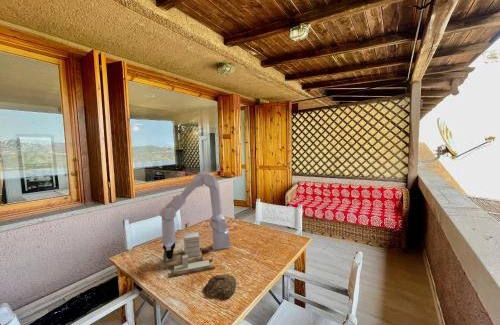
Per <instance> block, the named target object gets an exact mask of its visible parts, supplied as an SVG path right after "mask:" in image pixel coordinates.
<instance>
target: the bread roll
mask: <svg viewBox="0 0 500 325" xmlns="http://www.w3.org/2000/svg"><path fill="white" fill-rule="evenodd" d="M236 288H237V280H236V278H235V276H232V275H230V274H218V275H217V274H216V275H214V276H212V277H211V278H209V280H208V281H207V283H206V284H205V286H204V287H203V293H204V294H206V296H207V297H208V298H210V299H218V300H222V301H224V300H228V299H230V298H231V297H232V295H234V293H235V292H236Z"/></svg>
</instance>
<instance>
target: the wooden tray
mask: <svg viewBox="0 0 500 325" xmlns="http://www.w3.org/2000/svg"><path fill="white" fill-rule="evenodd" d="M201 250H202V249H201V247H200V256H199V257H194V258H188V263H190V262H196V261H202V260H203V252H201ZM162 255H163V256H162V257H163V258H162V259H163V263H162V265H163V266H162V267H163V268H162V269H170V266H174V265H179V264H182V256H183V255H185V250H181V251H175V252H174V251H173V257H172V259H167V255H166V252H165V250H164V251H163V254H162Z"/></svg>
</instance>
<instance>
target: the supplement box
mask: <svg viewBox="0 0 500 325" xmlns="http://www.w3.org/2000/svg"><path fill="white" fill-rule="evenodd" d="M183 244H184V246H183V248H184V251H185V255H188V258H194V257H199V256H200V248H201V247H200V246H201V245H200V244H201V243H200V234H199V231H198V230H197V231H191V232H190V231H189V232H184V233H183Z"/></svg>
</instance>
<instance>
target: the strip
mask: <svg viewBox="0 0 500 325" xmlns="http://www.w3.org/2000/svg"><path fill="white" fill-rule="evenodd" d="M181 260H182V264H183V265H178V266H174V269H173V273H178V272H184V271H189V270H194V269H199V268H205V267H210V266H211V262H209V260H207V259H205V260H206V261H200V262H195V263H189V264H188V255H183V256H182V257H181Z"/></svg>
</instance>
